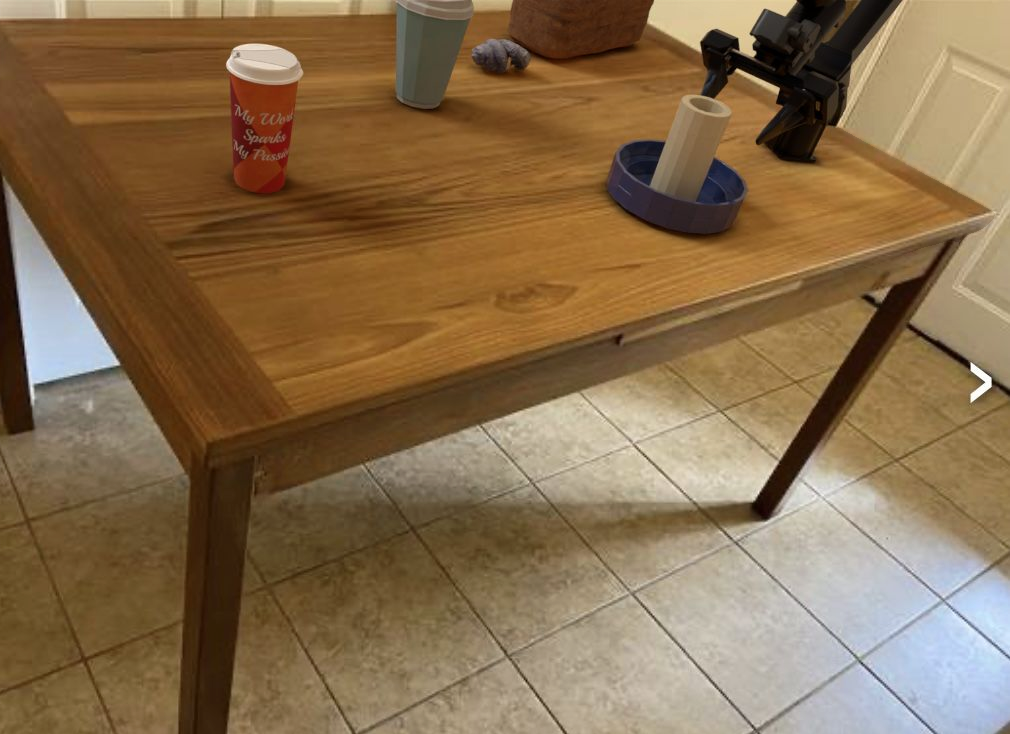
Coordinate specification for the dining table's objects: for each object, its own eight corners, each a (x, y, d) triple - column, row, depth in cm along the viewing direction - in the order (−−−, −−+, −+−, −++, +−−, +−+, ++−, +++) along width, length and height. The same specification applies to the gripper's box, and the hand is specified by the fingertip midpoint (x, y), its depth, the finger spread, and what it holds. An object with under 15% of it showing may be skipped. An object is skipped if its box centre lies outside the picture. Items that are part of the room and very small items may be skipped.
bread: (491, 37, 149) (507, -40, 141) (591, 21, 166) (610, -50, 158) (552, 69, 143) (572, -10, 135) (649, 49, 160) (673, -23, 152)
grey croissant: (521, 77, 141) (466, 79, 137) (516, 42, 140) (461, 43, 136) (539, 67, 136) (483, 69, 132) (534, 31, 136) (478, 32, 131)
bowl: (701, 175, 122) (714, 145, 119) (755, 241, 110) (770, 209, 107) (588, 166, 118) (598, 134, 115) (631, 233, 106) (643, 200, 103)
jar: (667, 183, 117) (701, 91, 108) (703, 205, 114) (741, 112, 105) (638, 191, 113) (672, 97, 105) (674, 214, 110) (712, 119, 102)
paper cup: (227, 197, 95) (230, 68, 86) (221, 163, 100) (223, 38, 91) (299, 199, 98) (309, 74, 88) (290, 166, 103) (298, 44, 94)
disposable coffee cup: (371, 102, 120) (386, -14, 111) (393, 77, 128) (409, -33, 119) (445, 123, 120) (467, 8, 110) (463, 96, 128) (484, -13, 118)
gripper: (736, -40, 109) (658, 61, 110) (874, 14, 101) (788, 123, 101) (742, 19, 119) (670, 111, 120) (868, 72, 111) (789, 171, 111)
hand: (726, 127), depth 113 cm, fingers open, 9 cm apart
